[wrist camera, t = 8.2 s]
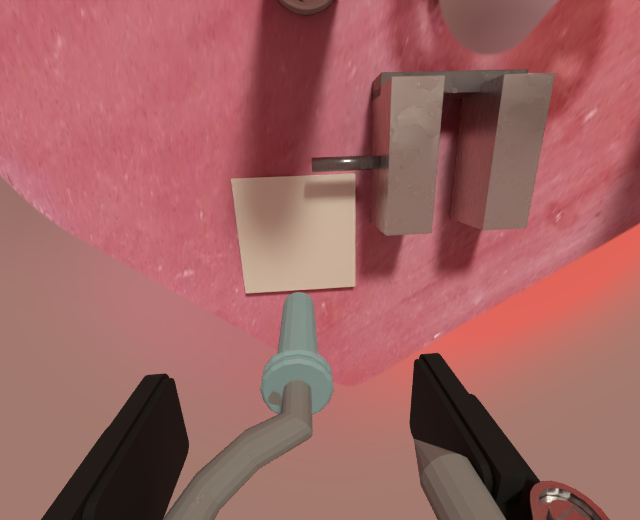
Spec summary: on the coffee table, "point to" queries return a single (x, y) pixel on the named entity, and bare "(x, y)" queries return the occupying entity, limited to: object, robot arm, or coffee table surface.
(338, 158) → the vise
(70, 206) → the coffee table surface
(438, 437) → the robot arm
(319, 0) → the travel mug
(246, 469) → the hook
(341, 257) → the mat
